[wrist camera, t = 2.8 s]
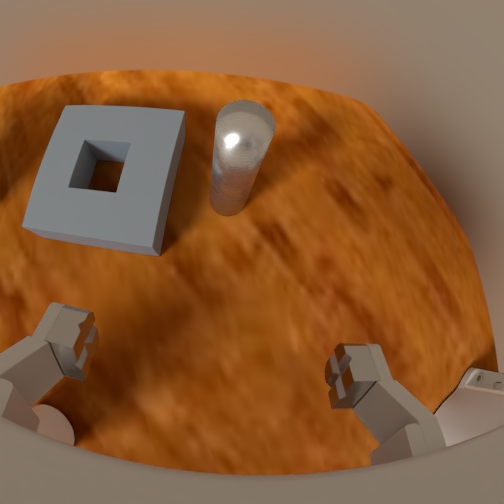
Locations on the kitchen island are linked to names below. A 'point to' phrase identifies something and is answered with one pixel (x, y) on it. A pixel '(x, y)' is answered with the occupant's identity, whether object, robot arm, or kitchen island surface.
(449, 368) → the kitchen island surface
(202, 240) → the kitchen island surface
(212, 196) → the steel pin
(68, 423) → the white tapered cylinder
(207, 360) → the kitchen island surface
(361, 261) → the kitchen island surface
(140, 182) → the socket block
